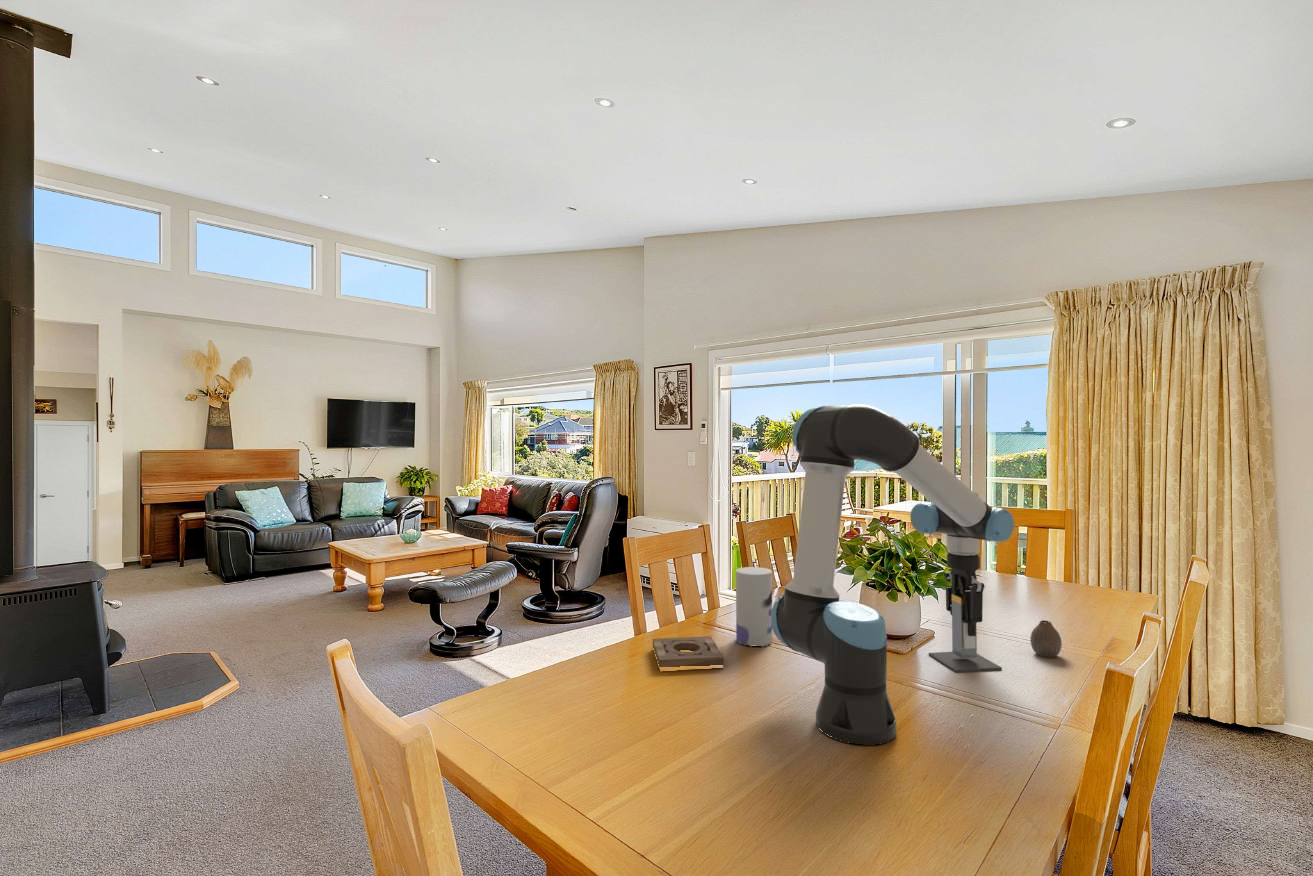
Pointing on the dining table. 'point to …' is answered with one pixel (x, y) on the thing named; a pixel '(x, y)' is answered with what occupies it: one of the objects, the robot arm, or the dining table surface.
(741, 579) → the container
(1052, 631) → the vase
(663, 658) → the block
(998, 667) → the pad
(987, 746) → the dining table surface
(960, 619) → the key peg
